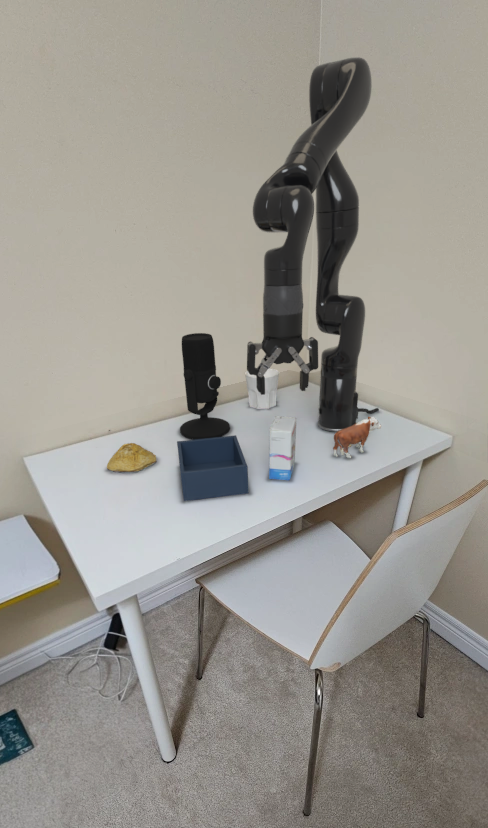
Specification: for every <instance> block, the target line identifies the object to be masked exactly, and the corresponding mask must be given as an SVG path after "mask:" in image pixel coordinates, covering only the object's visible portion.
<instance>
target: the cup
mask: <svg viewBox="0 0 488 828" xmlns="http://www.w3.org/2000/svg"><path fill="white" fill-rule="evenodd" d="M244 376H245V384H246V388H247V393H248V402H249V403H248V404H249V408H254V409H256V410H269V409H272V408H273V407H276V406H277V395H278V386H279V377H280V371H279V370H278V369H275V368H273V367H272V368H271V367H270V368H269V369H268V370H267V371H266V373H265V374H264V375H263V376H264V377H265V395H261V393H260V392H259V391H258V390H257V381H256V375H250V374H249V372H248V371H247V370H246V371H245V372H244Z"/></svg>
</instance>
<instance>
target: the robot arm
mask: <svg viewBox="0 0 488 828" xmlns="http://www.w3.org/2000/svg"><path fill="white" fill-rule="evenodd" d="M372 84H373V83H372V72H371V68H370V65H369V63H368V61H367V60H366V59H365V58H363V57H359V56H358V57H357V56H356V57H355V56H354V57H348V58H344V59H339V60H336V61H331V62H326V63H322V64H319V65H316V66H315V67H314V68H313V70H312V72H311V75H310V78H309V84H308V85H309V86H308V87H309V88H308V106H309V114H310V115H309V118H310V126H309V127H307V128H306V130H304V131H303V132H302V133H301V134H300V135H299V136H298V138H297V139H296V141H295V142H294V143H293V145H292V147H291V148H290V150H289V153H288V154H287V156H286V158H285V160H284V162H283V164H282V165H280V167H278V168H277V169H276V171H274V172H273V173H272V174H271V175H270V176H269V177H268V178H267V179H266V180H265V181H264V182H263V184H262V185H261V186H260V187H259V188H258V190H257V192H256V194H255V197H254V199H253V204H252V219H253V221H254V224H255V226H256V227H257V228H258V229H259V231H261V232H264V233H268V234H272V233H273V234H275V233H277V234H278V233H279V234H280V233H281V234H282V233H287V235H286V238H285V241H284V243H283V244H282V245H281V246H277V247H273V248H270V249H268V250H266V252H265V253H264V255H263V292H262V319H263V320H262V322H263V323H262V324H263V327H262V329H263V331H262V333H263V336H262V337H263V338H262V341H261V342H253V341H248V342H247V345H246V346H247V349H246V351H247V353H246V371H248V372H249V374H250V375H256V381H257V390H258V391H259V392H260V393H261V395H265V377H264V376H263V375H264V374H265V373H266V371H267V370H268V369H269V368H271V367H272V365H273V364H275V365H281V364H292V363H293V362H295V363H296V364H297V366H298V367H299V368H300V369H301V370H300V371H299V390H300V391H301V392H306V391H307V389H308V387H309V381H310V379H309V378H310V372H312V371H314V370H315V371H316V370H318V369H319V341H318V340H317V339H316V338H314V337H313V336H310V337H309V338H308V339H304V338H303V311H304V293H303V260H304V254H305V249H306V245H307V241H308V237H309V233H310V230H311V226H312V223H313V218H314V213H315V227H316V228H315V230H316V250H317V251H316V254H317V274H316V276H317V277H316V292H315V293H316V294H315V322H316V326H317V329H318V330H319V331H320V332H321V333H324V334H327V335H328V334H329V335H334V336H339V339H338V344H337V345H336V346H331V347H328V348H325V349H324V350H323V351H322V352H321V355H320V374H319V375H320V379H319V401H318V403H319V404H318V407H317V408H318V409H317V411H318V422H317V426H318V428H320V429H321V430H323V431H326V432H332V433H336V432H337V431H339V430H342V429H344V428H348V427H350V426H352V425H354V424H356V423H357V419H358V418H359V413H366V414H368V415H371V414H374V413H376V412H379V411H380V409H379V407H376V408H373V409H370V410H369V409H368V408H364V407H361V408H359V407H358V402H359V401H358V400H359V393H358V392H357V377H358V366H359V364H358V363H359V357H360V353H361V350H362V343H363V336H364V328H365V322H366V305H365V301H364V300H363V298H361V297H360V296H356V295H350V294H349V295H348V294H340V293H339V282H340V281H339V280H340V273H341V270H342V267H343V265H344V262H345V261H346V259H347V257H348V255H349V253H350V251H351V250H352V248H353V246H354V244H355V242H356V239H357V237H358V233H359V226H360V223H359V222H360V198H359V193H358V190H357V188H356V185H355V184H354V182H353V180H352V178H351V176H350V174H349V173H348V171H347V169H346V167H345V166H344V163H343V161H342V159H341V157H340V156H339V152H338V149H339V148H340V146H341V145H342V144H343V143H344V141H345V140H346V139H347V138H348V137H349V135H350V133H351V132H352V131H353V130H354V129H355V126H357V124H358V123H359V122H360V120H361V119H362V118H363V116H364V115H365V113H366V112H367V109H368V107H369V104H370V100H371V96H372V87H373V85H372ZM314 192H315V201H314V197H313V193H314ZM304 347H305V348H306V350H308V363H305V361H304V359H303V358H302V357H301V356H300V353H301V351H302V350H303V349H304ZM261 350H262V351H263V352H264V354H265V355H264V356H263V358H261V361H260V363H259V364H258V366H257V367H256V356H257V355H259V352H260V351H261Z"/></svg>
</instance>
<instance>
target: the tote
mask: <svg viewBox="0 0 488 828" xmlns="http://www.w3.org/2000/svg"><path fill="white" fill-rule="evenodd" d="M176 445H177V456H178V463H179V473H180V482H181V491H182V497H183V502H189V501H197V500H206V499H215V498H222V497H229V496H238V495H246V494H249V493H250V491H249V471H248V470H249V468H248V464H247V461H246V458H245V455H244V453H243V450H242V448H241V445H240V443H239V440H238V437H237V435H236V434H235V435H224V436H222V437H215V438H205V439H195V440H192V439H187V440H177V441H176Z"/></svg>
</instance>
